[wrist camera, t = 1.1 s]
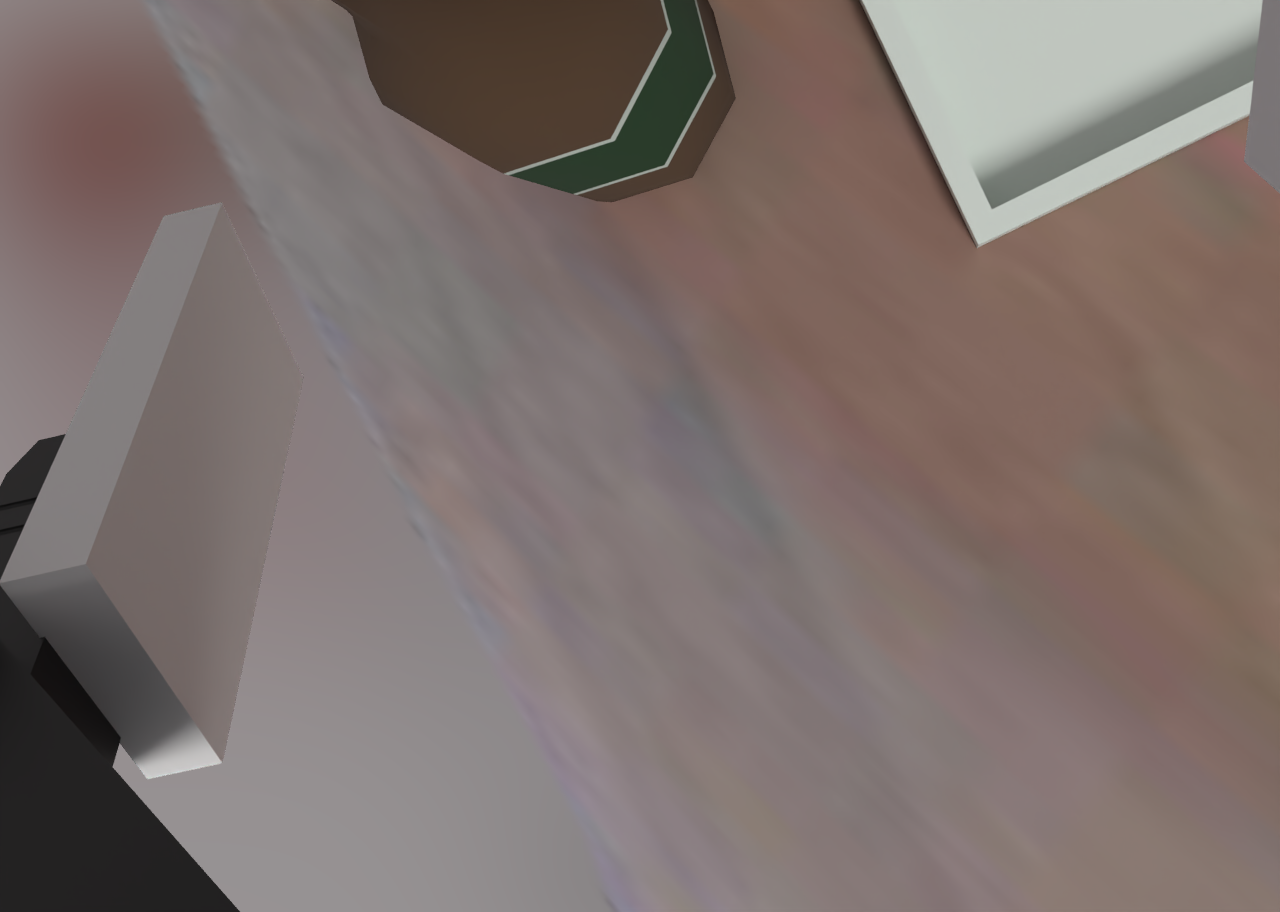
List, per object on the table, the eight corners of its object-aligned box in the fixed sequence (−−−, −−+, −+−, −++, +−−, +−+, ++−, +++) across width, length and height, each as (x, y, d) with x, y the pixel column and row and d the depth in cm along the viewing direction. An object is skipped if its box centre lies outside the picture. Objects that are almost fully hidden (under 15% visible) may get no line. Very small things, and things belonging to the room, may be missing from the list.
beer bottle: (648, -80, 41) (256, -580, 18) (788, 104, 40) (576, -161, 17) (477, 76, 43) (-74, -189, 20) (609, 253, 42) (205, 193, 19)
